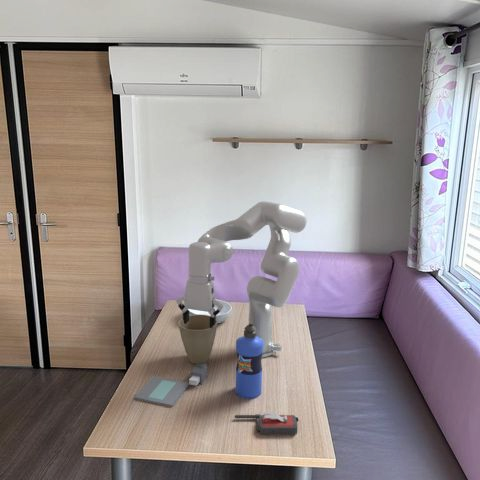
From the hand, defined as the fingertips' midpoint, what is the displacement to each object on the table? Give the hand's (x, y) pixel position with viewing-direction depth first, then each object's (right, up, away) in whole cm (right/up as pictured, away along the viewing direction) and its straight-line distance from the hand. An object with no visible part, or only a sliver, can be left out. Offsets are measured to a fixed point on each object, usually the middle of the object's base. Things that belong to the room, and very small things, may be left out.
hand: (199, 324), depth 163 cm
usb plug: (-1, -21, +5) cm, 22 cm away
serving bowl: (0, -8, +55) cm, 56 cm away
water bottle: (+17, -23, -2) cm, 29 cm away
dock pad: (-12, -23, -3) cm, 26 cm away
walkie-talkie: (+23, -28, -20) cm, 41 cm away
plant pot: (-2, -17, +19) cm, 26 cm away
